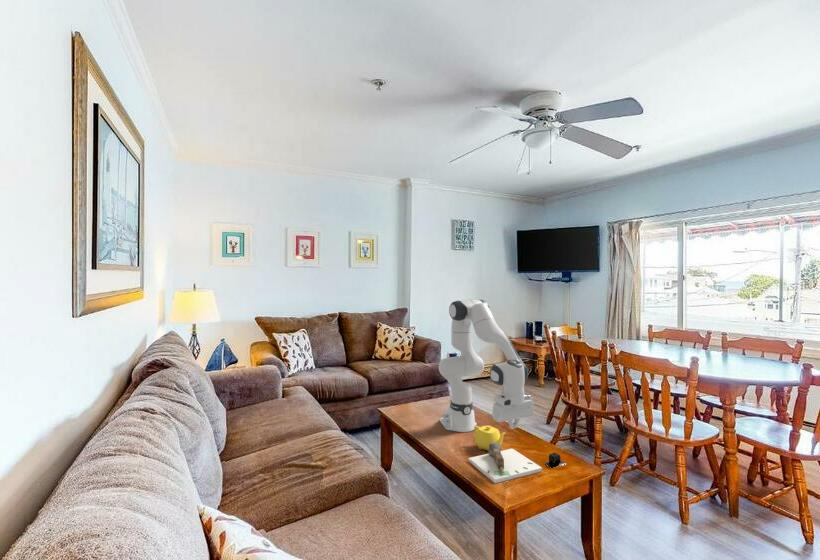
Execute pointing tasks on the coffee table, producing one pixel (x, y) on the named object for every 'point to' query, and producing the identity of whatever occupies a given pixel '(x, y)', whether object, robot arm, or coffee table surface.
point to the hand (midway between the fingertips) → (513, 428)
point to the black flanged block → (554, 460)
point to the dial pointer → (497, 455)
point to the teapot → (487, 436)
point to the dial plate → (505, 466)
